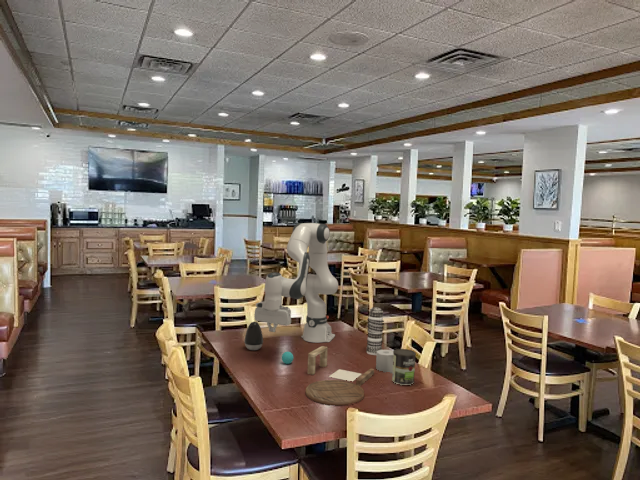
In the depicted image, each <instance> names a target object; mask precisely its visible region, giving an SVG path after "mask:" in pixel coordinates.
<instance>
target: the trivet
mask: <svg viewBox="0 0 640 480" xmlns="http://www.w3.org/2000/svg"><path fill="white" fill-rule="evenodd" d="M305 395H306V397H307V398H308V399H309V400H310V399H311V400H310V401H312V400H313V402H314V403H317V404H320V405H324V404H325V405H324V406H330V405H335V406H334V407H343V406H342V405H347V406H349V405H348V404H352V403H356V402H358V403H360V402H362V401H363V400H362V399H364V398H365V391H364V389H363V387H362V386H358V385H356V383H353V382H350V381H346V380H341V379H326V380H325V379H324V380H318V381H315V382H312V383H310V384H308V385H307V386H306V388H305ZM361 400H362V401H361ZM359 401H360V402H359ZM356 404H357V403H356ZM352 405H353V404H352Z"/></svg>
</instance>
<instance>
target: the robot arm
mask: <svg viewBox="0 0 640 480" xmlns="http://www.w3.org/2000/svg"><path fill="white" fill-rule="evenodd" d="M330 235H331V230H330V228H329V226H328V225H327V224H324V223H317V222H316V223H315V222H304V223H303V222H299V223H296V224H295V225H294V226H293V228H292V233H291V236H290V238H289V240H288V243H287V245H286V252H287V255H288V257H290V258H291V259H293V260H294V261H295V262H297V263H299V266H298V272H297V277H296V278H287V277H284V276H282V273H280V272H270V273H268V274H266V277H265V283H264V292H265V293H264V294H265V295H264V300H261V301H260V302H256V303H255V309H254V314H253V315H254V317H253V318H254V321H255V322H262V323H266V325H267V327H268V331H269V332H270V333H275V332H276V329H277V327H278V325H280V326H290V325H291V323H292V317H291V315H292V310H291V309H290V307H288V306H284V305H283V297H285V298H291V299H295V300H300V299H301V298H303V297H304V298H305V300H306V310H307V311H306V313H307V315H306V316H305V321H306V322H305V323H304V325H303V333H302V334H301V338H302V339H303V341H305V342H309V343H329V342H330V343H331V341H332V340H333V339H334V338H335V337H336V334H335V333H332V326H331V325H330V324H329V323H328V319H329V315H327V314H326V312H327V311H326V310H327V303H326V302H325V301H324V300H323V299H322V298H321V297H320V295H326V296H327V295H335V294H336V293H337V291H338V289H339V281H338V280H337V278H336V277H335V276H334V275H332V272H331V271H330V269H329V268H330V267H329V264H328V244H327V243H328V242H327V241H328V240H329V238H330ZM310 268H311V269H312V270H313V271H314V273H316V274H312V273H309V270H310ZM272 325H273V327H272Z"/></svg>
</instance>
